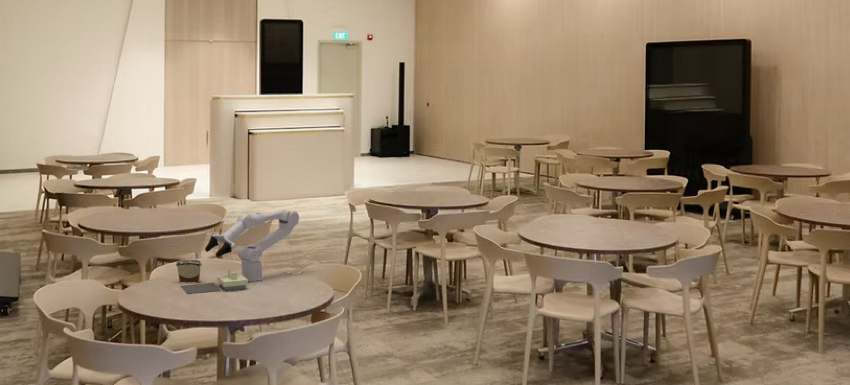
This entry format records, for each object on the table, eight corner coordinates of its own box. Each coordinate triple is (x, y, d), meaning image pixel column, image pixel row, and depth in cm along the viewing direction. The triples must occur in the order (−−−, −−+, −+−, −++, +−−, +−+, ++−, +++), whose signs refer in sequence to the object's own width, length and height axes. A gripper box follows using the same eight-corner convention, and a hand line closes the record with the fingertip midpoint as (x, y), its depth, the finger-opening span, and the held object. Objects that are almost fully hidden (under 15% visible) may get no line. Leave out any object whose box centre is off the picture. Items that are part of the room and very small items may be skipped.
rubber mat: (212, 283, 442) (212, 282, 442) (221, 290, 425) (221, 290, 425) (180, 286, 436) (180, 285, 436) (187, 294, 419) (187, 293, 419)
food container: (205, 280, 449) (205, 259, 448) (201, 282, 443) (200, 262, 442) (181, 279, 450) (180, 259, 449) (176, 282, 444) (175, 261, 443)
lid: (240, 278, 441) (240, 267, 441) (248, 284, 428) (247, 273, 427) (217, 280, 437) (217, 269, 436) (224, 286, 423) (223, 275, 423)
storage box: (239, 283, 440) (238, 276, 440) (245, 289, 429) (245, 281, 428) (220, 285, 437) (220, 278, 436) (226, 291, 425) (226, 283, 425)
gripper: (219, 223, 441) (198, 241, 434) (239, 233, 433) (218, 252, 426) (223, 234, 446) (203, 252, 439) (244, 244, 438) (223, 262, 431)
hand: (211, 253), depth 433 cm, fingers open, 7 cm apart
